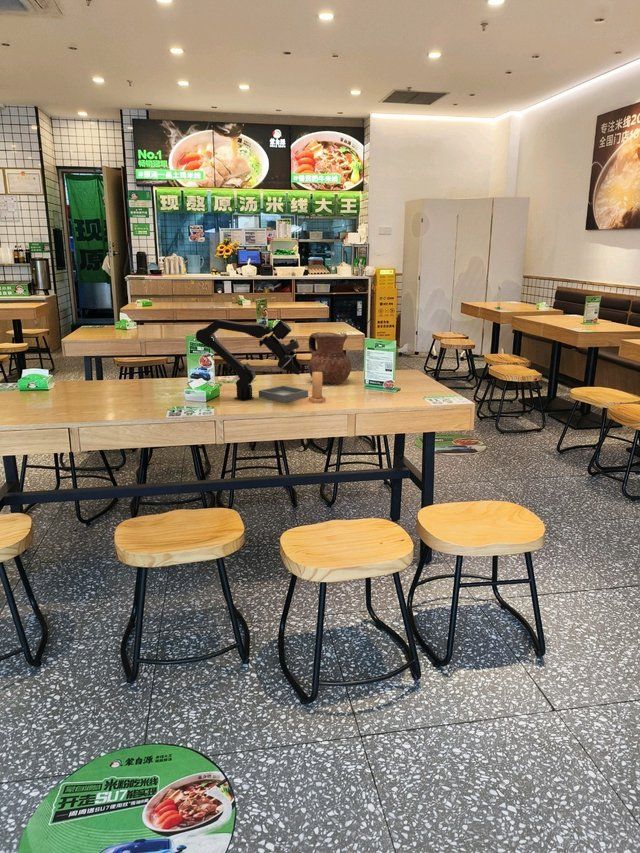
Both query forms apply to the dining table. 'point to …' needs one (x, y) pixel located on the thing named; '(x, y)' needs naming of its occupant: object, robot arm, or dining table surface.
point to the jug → (329, 357)
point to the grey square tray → (283, 393)
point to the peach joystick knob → (317, 388)
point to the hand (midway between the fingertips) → (300, 372)
